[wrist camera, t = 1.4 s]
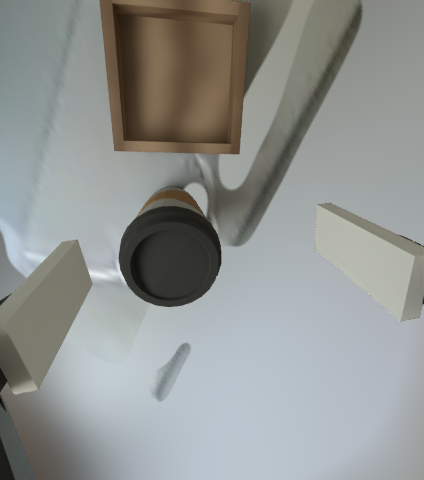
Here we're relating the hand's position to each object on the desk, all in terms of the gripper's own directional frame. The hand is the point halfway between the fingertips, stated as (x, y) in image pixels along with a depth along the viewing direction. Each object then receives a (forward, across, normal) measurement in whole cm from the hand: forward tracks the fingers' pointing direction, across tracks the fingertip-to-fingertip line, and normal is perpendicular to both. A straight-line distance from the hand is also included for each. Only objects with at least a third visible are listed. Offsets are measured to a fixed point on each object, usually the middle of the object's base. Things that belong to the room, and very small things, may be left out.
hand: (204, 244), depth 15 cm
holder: (+20, 0, +10) cm, 22 cm away
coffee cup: (+20, -2, -4) cm, 20 cm away
